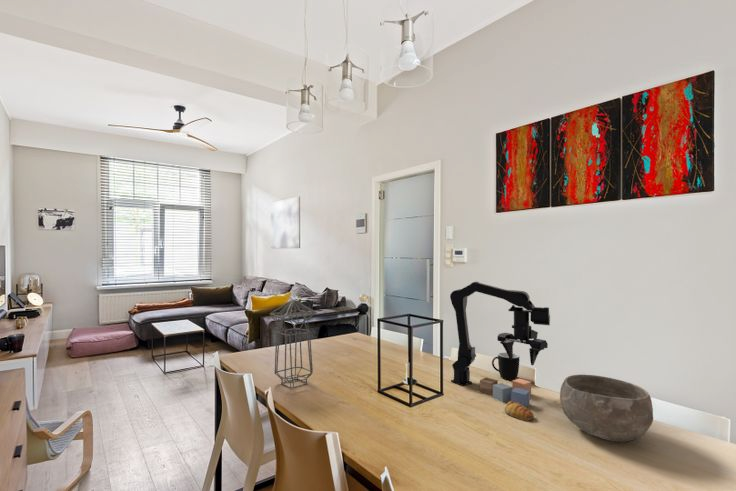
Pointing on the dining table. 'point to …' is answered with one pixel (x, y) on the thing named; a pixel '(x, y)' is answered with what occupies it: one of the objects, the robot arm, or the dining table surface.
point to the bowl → (607, 407)
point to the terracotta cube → (521, 384)
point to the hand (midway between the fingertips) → (521, 362)
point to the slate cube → (502, 392)
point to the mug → (507, 366)
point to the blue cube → (520, 396)
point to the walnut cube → (487, 386)
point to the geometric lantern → (289, 305)
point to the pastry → (518, 411)
